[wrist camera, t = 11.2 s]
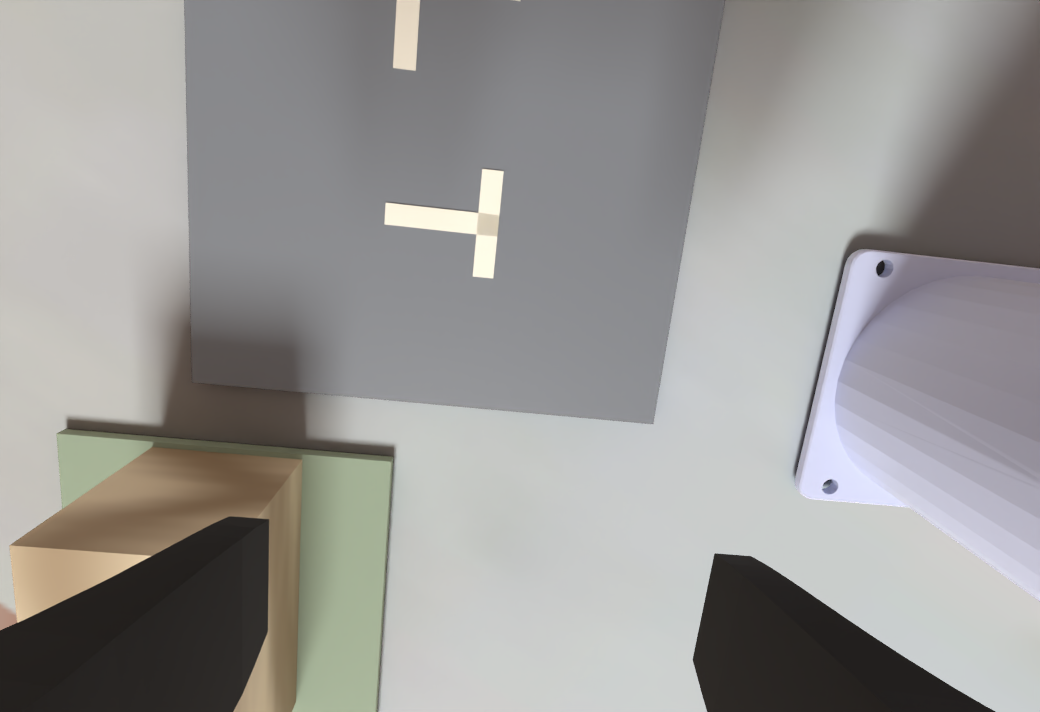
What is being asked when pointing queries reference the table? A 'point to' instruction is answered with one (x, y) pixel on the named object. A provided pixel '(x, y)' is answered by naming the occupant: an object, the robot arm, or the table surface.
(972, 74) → the table surface
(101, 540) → the birch block
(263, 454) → the green square tile
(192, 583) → the robot arm
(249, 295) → the gray tile
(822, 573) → the table surface
